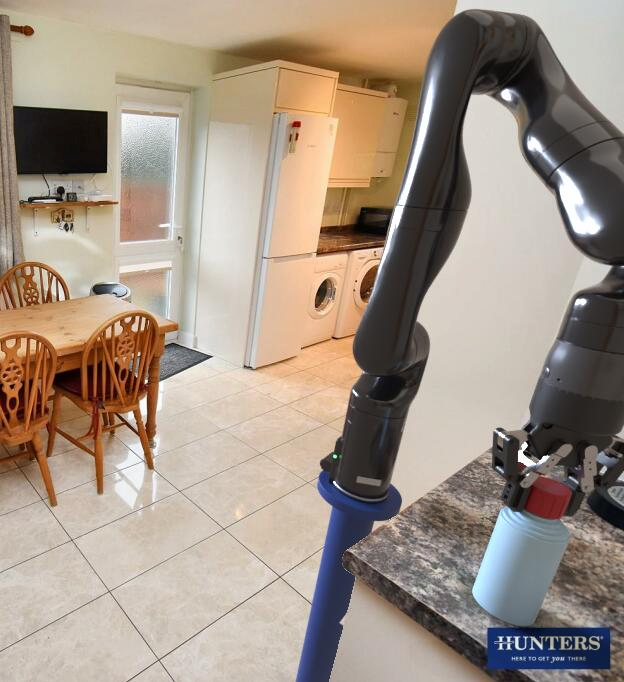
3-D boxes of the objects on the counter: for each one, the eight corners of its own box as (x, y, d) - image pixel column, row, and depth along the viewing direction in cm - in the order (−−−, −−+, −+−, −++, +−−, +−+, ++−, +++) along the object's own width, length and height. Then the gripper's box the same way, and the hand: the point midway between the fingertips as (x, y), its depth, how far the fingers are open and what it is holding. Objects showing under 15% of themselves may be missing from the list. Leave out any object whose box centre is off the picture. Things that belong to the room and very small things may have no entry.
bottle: (500, 627, 55) (547, 508, 50) (460, 584, 61) (498, 473, 56) (549, 626, 56) (602, 507, 50) (504, 583, 62) (547, 473, 56)
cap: (569, 514, 53) (579, 491, 52) (551, 523, 51) (561, 499, 50) (529, 494, 56) (538, 472, 55) (511, 502, 55) (520, 479, 54)
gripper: (542, 393, 46) (495, 526, 52) (698, 402, 45) (632, 538, 50) (492, 366, 53) (455, 486, 59) (625, 373, 52) (574, 495, 57)
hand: (536, 509), depth 54 cm, fingers open, 5 cm apart
